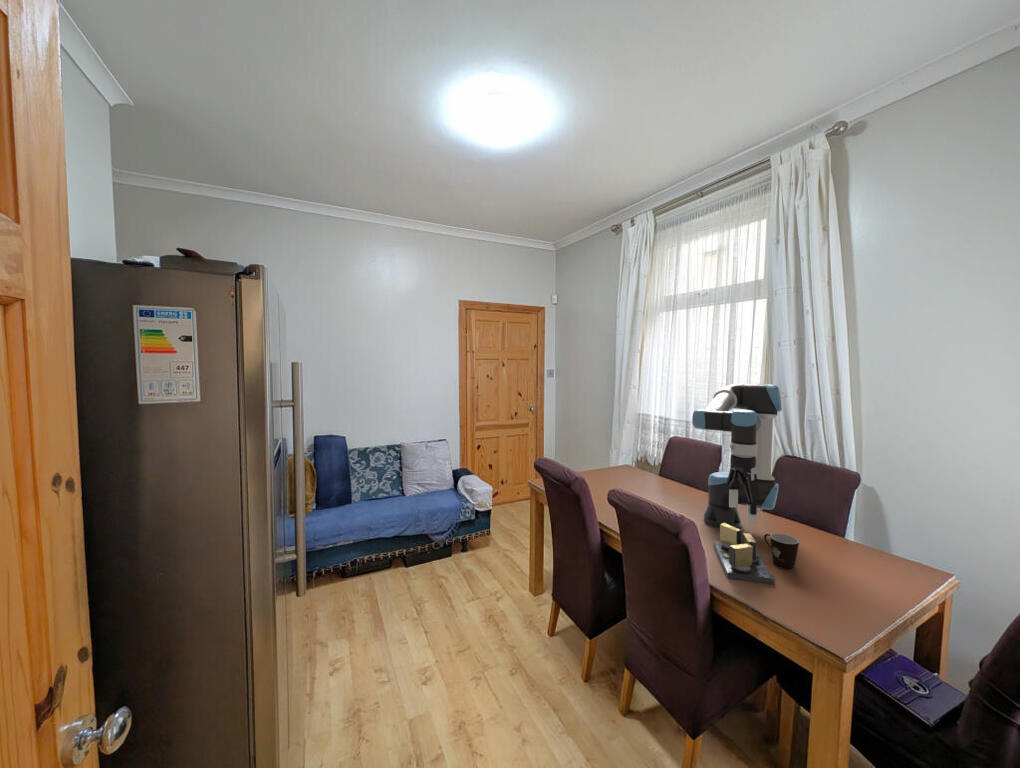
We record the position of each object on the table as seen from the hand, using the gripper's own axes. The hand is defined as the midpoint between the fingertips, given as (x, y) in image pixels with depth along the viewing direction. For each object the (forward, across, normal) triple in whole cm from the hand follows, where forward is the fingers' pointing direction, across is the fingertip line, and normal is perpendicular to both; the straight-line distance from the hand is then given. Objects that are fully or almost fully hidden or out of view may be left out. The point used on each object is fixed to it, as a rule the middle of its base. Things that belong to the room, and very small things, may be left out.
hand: (742, 514), depth 133 cm
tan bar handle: (+19, 0, 0) cm, 19 cm away
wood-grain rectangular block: (+19, -7, +6) cm, 21 cm away
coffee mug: (+22, -9, +18) cm, 30 cm away
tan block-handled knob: (+19, -15, +3) cm, 25 cm away
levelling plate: (+22, -7, +3) cm, 23 cm away
